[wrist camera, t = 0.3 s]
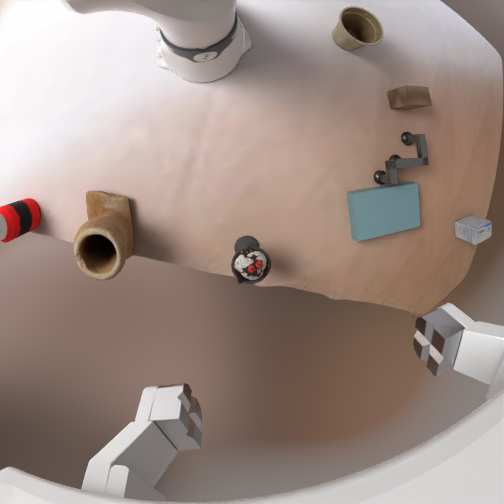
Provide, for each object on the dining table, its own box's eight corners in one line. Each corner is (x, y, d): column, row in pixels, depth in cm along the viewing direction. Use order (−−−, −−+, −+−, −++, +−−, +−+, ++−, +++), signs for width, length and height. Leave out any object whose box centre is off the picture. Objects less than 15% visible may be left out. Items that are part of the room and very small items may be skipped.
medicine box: (454, 236, 61) (475, 246, 52) (453, 221, 59) (475, 229, 51) (471, 228, 61) (491, 237, 52) (470, 213, 59) (491, 221, 51)
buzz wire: (367, 134, 51) (381, 132, 45) (410, 131, 51) (426, 130, 46) (374, 184, 55) (389, 188, 49) (416, 178, 55) (432, 181, 49)
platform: (346, 192, 55) (352, 194, 52) (410, 181, 55) (417, 183, 52) (351, 237, 58) (357, 241, 55) (412, 223, 58) (420, 226, 55)
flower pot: (372, 47, 44) (391, 35, 36) (345, 64, 46) (363, 51, 38) (345, 17, 42) (361, 1, 33) (316, 31, 43) (330, 15, 35)
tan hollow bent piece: (146, 259, 55) (123, 291, 41) (97, 259, 54) (65, 288, 40) (141, 186, 51) (112, 195, 36) (90, 189, 50) (51, 201, 35)
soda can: (21, 194, 47) (-10, 204, 36) (42, 202, 49) (11, 213, 37) (18, 224, 49) (-12, 238, 38) (39, 233, 51) (9, 249, 40)
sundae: (263, 230, 56) (275, 255, 42) (263, 262, 58) (275, 295, 44) (229, 231, 55) (231, 257, 41) (231, 263, 57) (233, 298, 43)
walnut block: (386, 91, 48) (407, 85, 41) (407, 92, 48) (427, 87, 41) (390, 108, 49) (411, 104, 42) (410, 108, 49) (431, 105, 42)
